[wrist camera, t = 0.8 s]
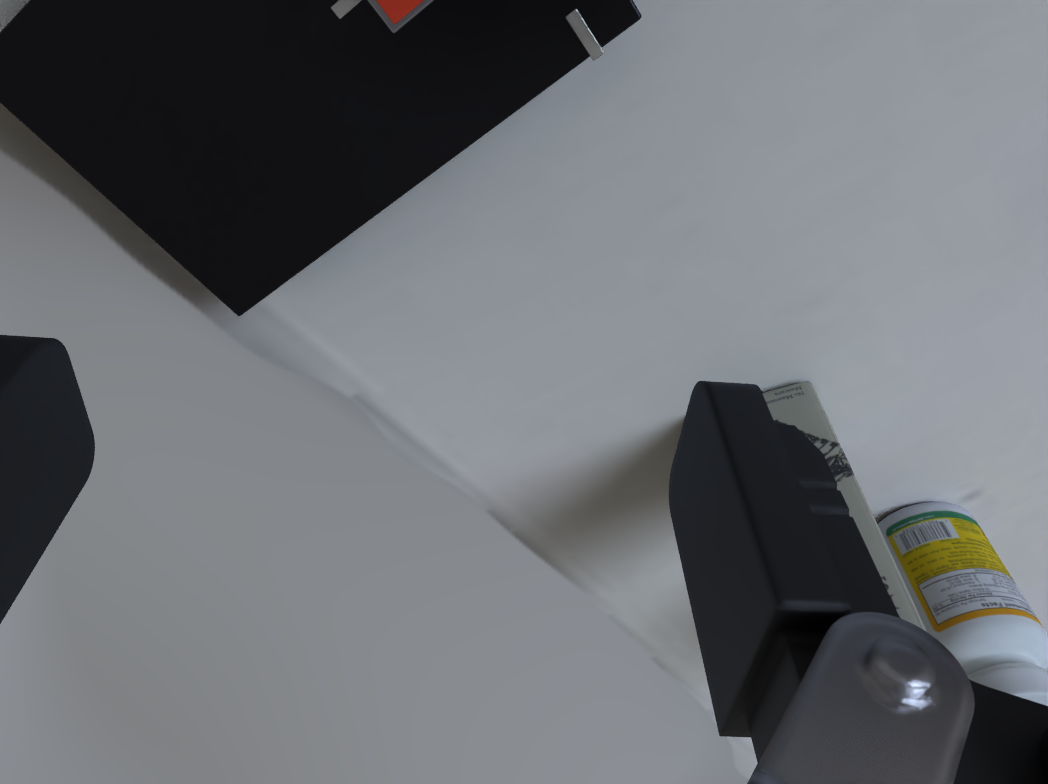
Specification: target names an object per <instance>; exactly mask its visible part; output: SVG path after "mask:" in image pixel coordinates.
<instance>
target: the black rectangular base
mask: <svg viewBox="0 0 1048 784" xmlns="http://www.w3.org/2000/svg"><path fill="white" fill-rule="evenodd" d="M640 18H641V14H640V12H639V10H638V9H637V7H636V5H635V4H634V2H633V0H434V1H432V2H431V3H430V4H429V5H428V6H427V7H425V8H424V9H423V10H422V11H421V12H419V13H418V14H417V15H416V16H415V17H413V18H412V19H411V20H410V21H409V22H407V23H406V24H405V25H404V26H403V27H402V28H400V29H399V30H398V31H397V32H396V33H393V32H392V31H391V30H390V29H389V28H388V26H387V25H386V24H385V22H384V21H383V20H382V19H381V17H380V16H379V15H378V13H377V12H376V11H375V9H374V8H373V7H372V6H371V4H370V3H369V2H368V0H30V1H29V2H28V3H27V4H26V5H25V6H24V7H23V8H22V9H21V10H20V12H19V13H18V14H17V15H16V16H15V17H14V18H13V19H12V20H11V21H10V22H9V23H8V25H7V26H6V27H5V28H4V29H3V30H2V31H1V32H0V103H1V104H2V105H3V106H5V107H6V108H7V109H8V110H9V111H10V112H11V113H12V114H14V115H15V116H16V117H17V118H18V119H19V120H20V121H21V122H22V123H24V124H25V125H26V126H27V127H28V128H29V129H30V130H31V131H32V132H34V133H35V134H36V135H37V136H38V137H39V138H40V139H41V140H43V141H44V142H45V143H46V144H47V145H48V146H49V147H50V148H51V149H53V150H54V151H55V152H56V153H57V154H58V155H59V156H60V157H62V158H63V159H64V160H65V161H66V162H67V163H68V164H69V165H70V166H72V167H73V168H74V169H75V170H76V171H77V172H78V173H79V174H80V175H82V176H83V177H84V178H85V179H86V180H87V181H88V182H89V183H91V184H92V185H93V186H94V187H95V188H96V189H97V190H98V191H99V192H101V193H102V194H103V195H104V196H105V197H106V198H107V199H108V200H109V201H111V202H112V203H113V204H114V205H115V206H116V207H117V208H118V209H120V210H121V211H122V212H123V213H124V214H125V215H126V216H127V217H128V218H130V219H131V220H132V221H133V222H134V223H135V224H136V225H137V226H138V227H140V228H141V229H142V230H143V231H144V232H145V233H146V234H147V235H149V236H150V237H151V238H152V239H153V240H154V241H155V242H156V243H157V244H159V245H160V246H161V247H162V248H163V249H164V250H165V251H166V252H168V253H169V254H170V255H171V256H172V257H173V258H174V259H175V260H176V261H178V262H179V263H180V264H181V265H182V266H183V267H184V268H185V269H186V270H188V271H189V272H190V273H191V274H192V275H193V276H194V277H195V278H197V279H198V280H199V281H200V282H201V283H202V284H203V285H204V286H205V287H207V288H208V289H209V290H210V291H211V292H212V293H213V294H214V295H215V296H217V297H218V298H219V299H220V300H221V301H222V302H223V303H224V304H226V305H227V306H228V307H229V308H230V309H231V310H232V311H233V312H234V313H236V314H237V315H238V316H241V315H242V314H244V313H245V312H246V311H248V310H249V309H250V308H252V307H253V306H254V305H256V304H257V303H258V302H260V301H261V300H262V299H264V298H265V297H266V296H268V295H269V294H270V293H272V292H273V291H275V290H276V289H277V288H279V287H280V286H281V285H283V284H284V283H285V282H287V281H288V280H289V279H291V278H292V277H293V276H295V275H296V274H297V273H299V272H300V271H301V270H303V269H304V268H306V267H307V266H308V265H310V264H311V263H312V262H314V261H315V260H316V259H318V258H319V257H320V256H322V255H323V254H324V253H326V252H327V251H328V250H330V249H331V248H332V247H334V246H335V245H336V244H338V243H339V242H341V241H342V240H343V239H345V238H346V237H347V236H349V235H350V234H351V233H353V232H354V231H355V230H357V229H358V228H359V227H361V226H362V225H363V224H365V223H366V222H367V221H369V220H370V219H372V218H373V217H374V216H376V215H377V214H378V213H380V212H381V211H382V210H384V209H385V208H386V207H388V206H389V205H390V204H392V203H393V202H394V201H396V200H397V199H398V198H400V197H401V196H402V195H404V194H405V193H407V192H408V191H409V190H411V189H412V188H413V187H415V186H416V185H417V184H419V183H420V182H421V181H423V180H424V179H425V178H427V177H428V176H429V175H431V174H432V173H433V172H435V171H436V170H438V169H439V168H440V167H442V166H443V165H444V164H446V163H447V162H448V161H450V160H451V159H452V158H454V157H455V156H456V155H458V154H459V153H460V152H462V151H463V150H464V149H466V148H467V147H469V146H470V145H471V144H473V143H474V142H475V141H477V140H478V139H479V138H481V137H482V136H483V135H485V134H486V133H487V132H489V131H490V130H491V129H493V128H494V127H495V126H497V125H498V124H499V123H501V122H502V121H504V120H505V119H506V118H508V117H509V116H510V115H512V114H513V113H514V112H516V111H517V110H518V109H520V108H521V107H522V106H524V105H525V104H526V103H528V102H529V101H530V100H532V99H533V98H535V97H536V96H537V95H539V94H540V93H541V92H543V91H544V90H545V89H547V88H548V87H549V86H551V85H552V84H553V83H555V82H556V81H557V80H559V79H560V78H561V77H563V76H564V75H565V74H567V73H568V72H570V71H571V70H572V69H574V68H575V67H576V66H578V65H579V64H580V63H582V62H583V61H584V60H586V59H587V58H588V57H590V56H591V58H592V59H593V61H594V60H595V59H597V58H598V57H599V56H601V55H602V54H603V53H604V51H603V49H602V47H603V46H605V45H606V44H607V43H609V42H610V41H611V40H613V39H614V38H615V37H617V36H618V35H619V34H621V33H622V32H623V31H625V30H626V29H627V28H629V27H630V26H632V25H633V24H634V23H636V22H637V21H638V20H640Z"/></svg>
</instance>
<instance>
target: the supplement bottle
mask: <svg viewBox="0 0 1048 784" xmlns="http://www.w3.org/2000/svg"><path fill="white" fill-rule="evenodd" d="M878 527H879V529H880V531H881V533H882V535H883V538H884V540H885V542H886V544H887V546H888V548H889V550H890V553H891V555H892V557H893V559H894V561H895V563H896V565H897V568H898V570H899V572H900V574H901V576H902V579H903V581H904V583H905V585H906V587H907V590H908V592H909V594H910V596H911V598H912V600H913V603H914V605H915V607H916V609H917V612H918V614H919V616H920V618H921V621H922V623H923V625H924V627H925V629H926V631H927V632H928V633H929V634H930V635H932V636H933V637H934V638H936V639H937V640H938V641H940V642H941V643H942V644H943V645H944V646H945V647H946V648H947V649H948V650H949V651H950V652H951V653H952V654H953V656H954V657H955V658H956V659H957V660H958V662H959V663H960V665H961V666H962V668H963V669H964V671H965V672H966V675H967V677H968V679H970V680H972V681H974V682H977V683H979V684H982V685H985V686H987V687H990V688H993V689H996V690H999V691H1003V692H1006V693H1009V694H1012V695H1015V696H1018V697H1021V698H1024V699H1027V700H1030V701H1033V702H1037V703H1040V704H1043V705H1046V706H1048V672H1047V671H1046V668H1047V667H1048V635H1047V633H1046V631H1045V630H1044V628H1043V626H1042V625H1041V623H1040V622H1039V620H1038V618H1037V617H1036V615H1035V614H1034V612H1033V610H1032V609H1031V607H1030V606H1029V604H1028V603H1027V601H1026V599H1025V598H1024V596H1023V595H1022V593H1021V591H1020V590H1019V588H1018V587H1017V585H1016V584H1015V582H1014V580H1013V579H1012V577H1011V576H1010V574H1009V573H1008V571H1007V569H1006V568H1005V566H1004V564H1003V563H1002V561H1001V560H1000V558H999V557H998V555H997V553H996V552H995V550H994V549H993V547H992V545H991V544H990V542H989V540H988V539H987V537H986V536H985V534H984V533H983V531H982V529H981V528H980V526H979V525H978V523H977V522H976V520H975V519H974V517H973V516H972V515H971V514H970V513H969V512H967V511H966V510H964V509H962V508H960V507H958V506H955V505H952V504H947V503H942V502H927V503H920V504H915V505H911V506H908V507H905V508H902V509H900V510H898V511H896V512H894V513H892V514H890V515H889V516H887V517H886V518H884V519H883V520H882V521H880V522H879V523H878Z"/></svg>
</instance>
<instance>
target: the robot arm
mask: <svg viewBox="0 0 1048 784" xmlns="http://www.w3.org/2000/svg"><path fill="white" fill-rule="evenodd" d="M94 451H95V443H94V435H93V431H92V427H91V424H90V421H89V418H88V415H87V412H86V408H85V406H84V402H83V399H82V396H81V392H80V389H79V386H78V383H77V380H76V377H75V373H74V370H73V367H72V364H71V361H70V358H69V355H68V352H67V350H66V348H65V346H64V345H63V344H62V343H61V342H60V341H59V340H57V339H54V338H40V337H25V336H7V335H0V624H1V622H2V620H3V619H4V617H5V615H6V614H7V612H8V610H9V609H10V607H11V605H12V603H13V602H14V600H15V599H16V597H17V595H18V594H19V592H20V591H21V589H22V587H23V586H24V584H25V582H26V580H27V579H28V577H29V576H30V574H31V572H32V571H33V569H34V567H35V566H36V564H37V563H38V561H39V559H40V558H41V556H42V554H43V553H44V551H45V549H46V547H47V546H48V544H49V543H50V541H51V539H52V538H53V536H54V534H55V533H56V531H57V530H58V528H59V526H60V525H61V523H62V521H63V520H64V518H65V516H66V515H67V513H68V511H69V510H70V508H71V506H72V505H73V503H74V501H75V500H76V498H77V497H78V495H79V493H80V491H81V490H82V488H83V487H84V485H85V483H86V481H87V480H88V478H89V475H90V473H91V469H92V466H93V461H94ZM669 506H670V513H671V518H672V522H673V527H674V531H675V536H676V541H677V545H678V550H679V554H680V559H681V563H682V568H683V572H684V577H685V581H686V586H687V590H688V595H689V599H690V604H691V609H692V613H693V618H694V622H695V627H696V631H697V636H698V640H699V645H700V649H701V654H702V658H703V663H704V667H705V672H706V676H707V681H708V686H709V690H710V695H711V699H712V704H713V708H714V713H715V717H716V722H717V726H718V731H719V735H720V736H729V737H751V738H752V742H753V746H754V750H755V754H756V758H757V762H758V764H757V766H756V768H755V770H754V772H753V774H752V776H751V778H750V779H749V781H748V783H747V784H1048V706H1046V705H1043V704H1040V703H1037V702H1033V701H1030V700H1027V699H1024V698H1021V697H1018V696H1015V695H1012V694H1009V693H1006V692H1003V691H999V690H996V689H993V688H990V687H987V686H985V685H982V684H979V683H977V682H974V681H972V680H970V679H968V677H967V675H966V672H965V671H964V669H963V668H962V666H961V665H960V663H959V662H958V660H957V659H956V658H955V657H954V656H953V654H952V653H951V652H950V651H949V650H948V649H947V648H946V647H945V646H944V645H943V644H942V643H941V642H940V641H938V640H937V639H936V638H934V637H933V636H932V635H930V634H929V633H928V632H926V631H924V630H923V629H921V628H919V627H918V626H916V625H914V624H912V623H910V622H908V621H906V620H903V619H901V618H900V616H899V615H898V613H897V610H896V608H895V606H894V604H893V602H892V600H891V598H890V595H889V593H888V591H887V589H886V587H885V585H884V583H883V581H882V578H881V576H880V574H879V572H878V570H877V568H876V566H875V563H874V561H873V559H872V557H871V555H870V553H869V551H868V548H867V546H866V544H865V542H864V540H863V538H862V536H861V534H860V531H859V529H858V527H857V525H856V523H855V521H854V519H853V517H850V516H849V508H848V506H847V504H846V502H845V499H844V497H843V495H842V493H841V491H840V490H837V482H836V480H835V478H834V476H833V474H832V472H831V469H830V467H829V465H828V463H827V461H826V459H825V457H824V455H823V453H822V452H821V451H820V450H819V449H818V448H817V447H816V446H815V445H814V444H813V443H812V442H811V441H810V440H809V439H808V438H807V437H806V436H805V435H804V434H803V433H802V432H801V431H800V430H799V429H798V428H797V427H796V426H795V425H782V424H775V423H774V420H773V418H772V415H771V413H770V411H769V408H768V406H767V403H766V401H765V399H764V396H763V394H762V392H761V390H760V388H759V387H758V386H757V385H755V384H740V383H725V382H709V381H699V382H698V383H697V384H696V385H695V387H694V389H693V391H692V394H691V398H690V401H689V405H688V409H687V412H686V416H685V420H684V423H683V427H682V431H681V434H680V438H679V442H678V445H677V449H676V453H675V456H674V460H673V464H672V468H671V473H670V481H669Z"/></svg>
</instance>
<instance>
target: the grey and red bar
mask: <svg viewBox="0 0 1048 784" xmlns="http://www.w3.org/2000/svg"><path fill="white" fill-rule="evenodd" d="M432 1H434V0H368V2H369V3H370V4H371V6H372V7H373V8H374V9H375V11H376V12H377V13H378V15H379V16H380V17H381V19H382V20H383V21H384V22H385V24H386V25H387V26H388V28H389V29H390V30H391V31H392V32H393V33H396V32H397V31H398V30H399V29H400V28H402V27H403V26H404V25H405V24H406V23H407V22H409V21H410V20H411V19H412V18H413V17H415V16H416V15H417V14H418V13H419V12H421V11H422V10H423V9H424V8H425V7H427V6H428V5H429V4H430V3H431V2H432Z"/></svg>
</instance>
